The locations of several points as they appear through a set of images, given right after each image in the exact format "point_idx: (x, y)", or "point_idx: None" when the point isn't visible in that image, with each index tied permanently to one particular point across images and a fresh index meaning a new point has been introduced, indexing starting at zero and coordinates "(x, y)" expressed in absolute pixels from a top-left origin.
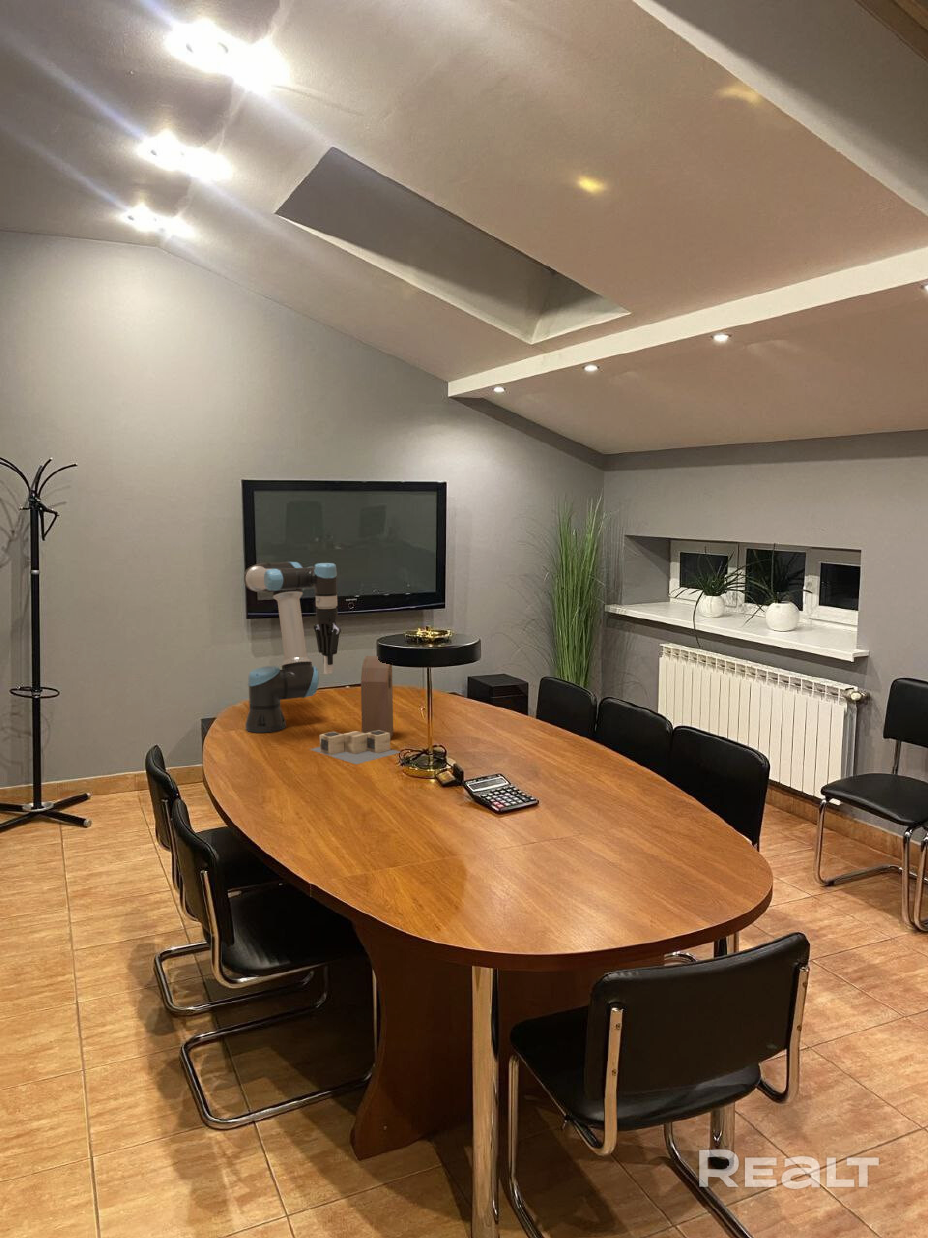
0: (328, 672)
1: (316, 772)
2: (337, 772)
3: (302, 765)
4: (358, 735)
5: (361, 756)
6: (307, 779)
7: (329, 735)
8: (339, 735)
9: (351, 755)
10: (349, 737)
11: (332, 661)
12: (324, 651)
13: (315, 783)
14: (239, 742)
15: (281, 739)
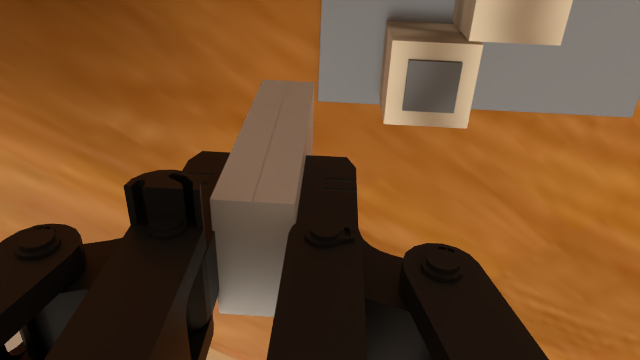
0: (311, 147)
1: (538, 238)
2: (605, 200)
3: (441, 221)
4: (563, 3)
5: (585, 27)
6: (561, 290)
7: (443, 112)
8: (474, 70)
9: (534, 45)
10: (524, 42)
11: (356, 190)
12: (199, 354)
13: (609, 298)
14: (27, 190)
15: (78, 63)
